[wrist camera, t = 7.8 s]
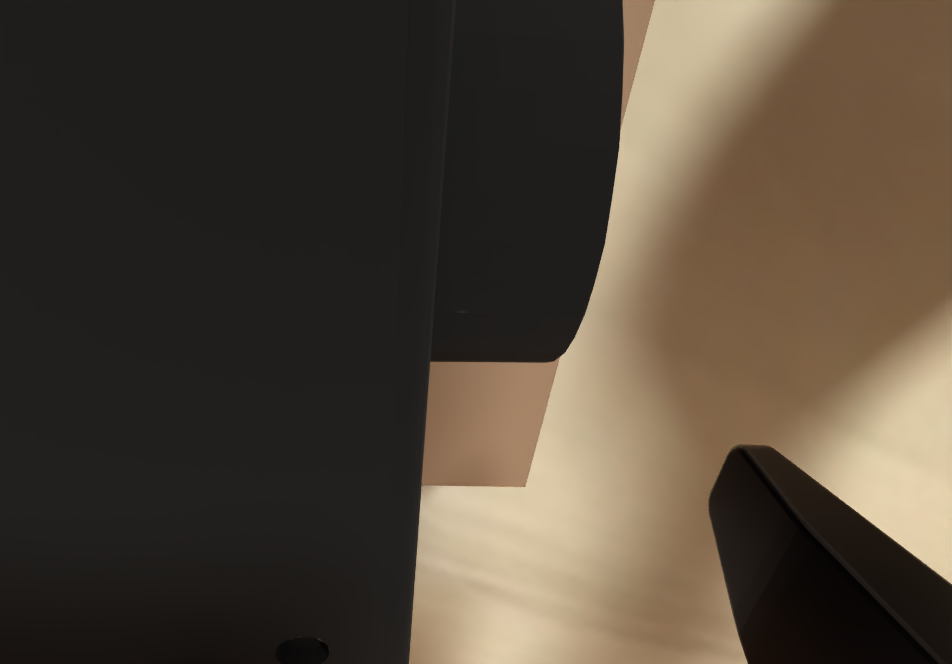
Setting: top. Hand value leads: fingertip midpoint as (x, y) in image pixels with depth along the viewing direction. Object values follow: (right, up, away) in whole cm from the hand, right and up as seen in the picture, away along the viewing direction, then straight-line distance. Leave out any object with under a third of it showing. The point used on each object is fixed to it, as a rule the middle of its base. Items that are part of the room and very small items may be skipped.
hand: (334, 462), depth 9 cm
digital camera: (-1, +4, +4) cm, 6 cm away
